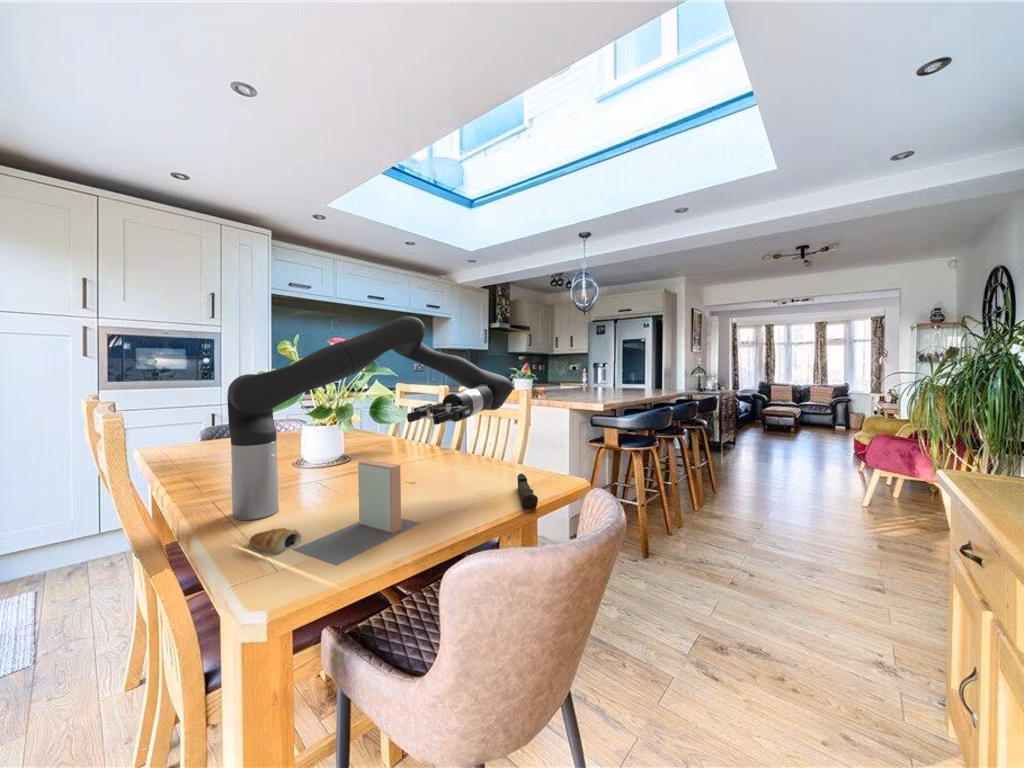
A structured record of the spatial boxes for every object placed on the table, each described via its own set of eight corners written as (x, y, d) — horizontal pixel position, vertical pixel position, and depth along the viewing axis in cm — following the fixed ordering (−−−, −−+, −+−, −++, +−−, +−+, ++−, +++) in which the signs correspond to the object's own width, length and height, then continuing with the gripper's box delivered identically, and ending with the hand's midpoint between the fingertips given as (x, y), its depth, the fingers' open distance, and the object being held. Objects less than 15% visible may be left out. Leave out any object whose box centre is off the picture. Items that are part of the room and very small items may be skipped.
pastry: (239, 552, 80) (238, 532, 80) (268, 538, 86) (268, 519, 86) (279, 558, 77) (279, 538, 77) (306, 543, 84) (305, 524, 84)
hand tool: (538, 510, 102) (538, 492, 102) (521, 510, 102) (522, 492, 102) (529, 487, 121) (529, 471, 121) (516, 487, 121) (516, 472, 121)
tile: (358, 524, 92) (357, 462, 91) (368, 520, 94) (367, 459, 93) (391, 533, 87) (390, 467, 86) (401, 529, 89) (400, 465, 88)
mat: (292, 551, 79) (292, 549, 79) (380, 514, 99) (380, 512, 99) (336, 567, 73) (336, 565, 73) (420, 524, 93) (420, 523, 93)
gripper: (441, 390, 115) (398, 402, 102) (483, 391, 108) (442, 405, 94) (444, 416, 117) (401, 432, 103) (486, 419, 109) (445, 437, 95)
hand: (421, 419), depth 99 cm, fingers open, 8 cm apart
